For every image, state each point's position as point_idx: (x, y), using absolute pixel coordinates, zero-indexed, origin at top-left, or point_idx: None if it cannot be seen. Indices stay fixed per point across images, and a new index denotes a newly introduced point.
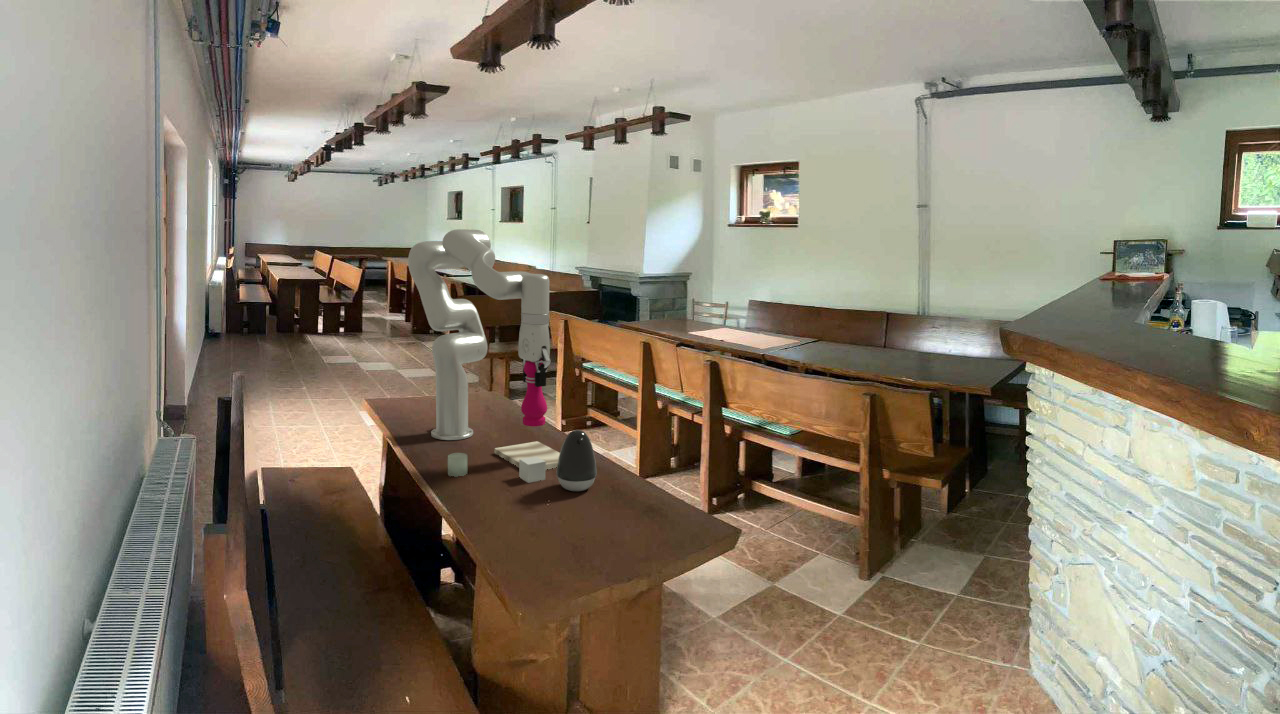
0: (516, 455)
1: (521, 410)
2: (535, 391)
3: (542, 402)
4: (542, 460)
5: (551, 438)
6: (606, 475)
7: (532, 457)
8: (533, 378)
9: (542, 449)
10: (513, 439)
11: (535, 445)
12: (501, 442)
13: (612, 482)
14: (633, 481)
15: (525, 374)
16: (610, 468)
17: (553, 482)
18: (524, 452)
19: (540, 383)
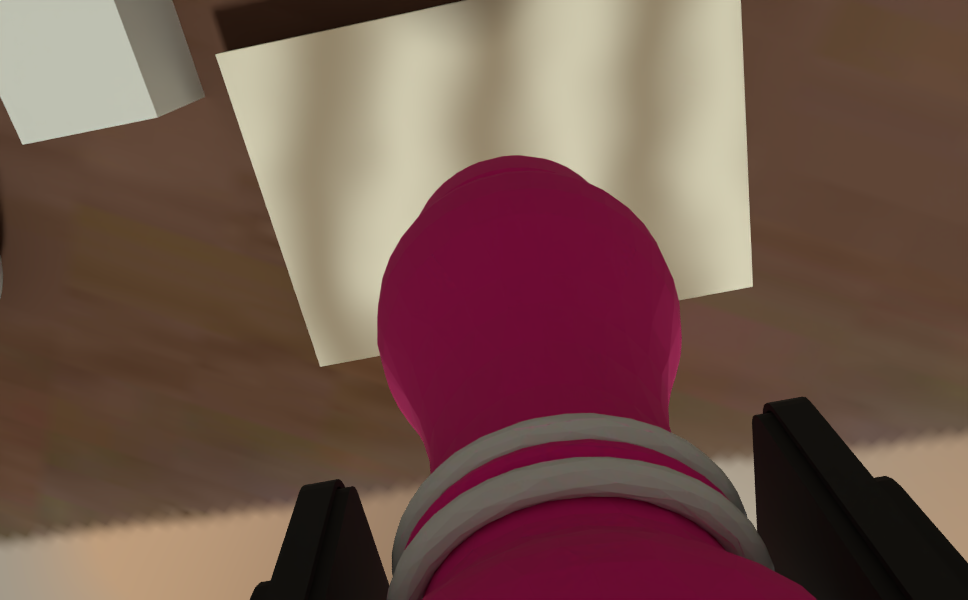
0: (505, 56)
1: (541, 171)
2: (430, 436)
3: (411, 424)
4: (50, 130)
5: (843, 393)
6: (116, 444)
7: (133, 80)
8: (401, 571)
9: None
10: (956, 173)
11: (671, 247)
12: (940, 72)
13: (3, 435)
14: (10, 520)
15: (820, 527)
16: (222, 495)
17: (32, 150)
18: (553, 132)
19: (261, 589)
